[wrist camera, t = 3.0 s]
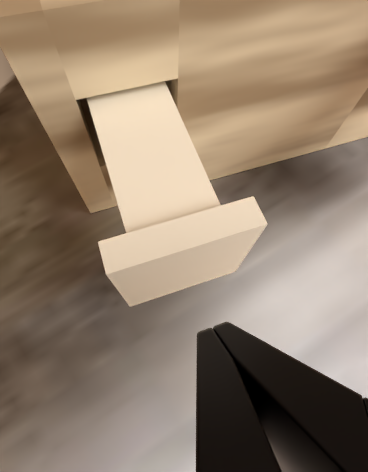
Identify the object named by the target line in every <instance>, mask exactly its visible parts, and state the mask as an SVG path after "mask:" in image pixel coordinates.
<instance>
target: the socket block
mask: <svg viewBox="0 0 368 472" xmlns="http://www.w3.org/2000/svg"><path fill="white" fill-rule="evenodd" d="M0 48H1V50H2V51H3V53H4V55H5V57H6V59H7V61H8V62H9V64H10V66H11V68H12V70H13V72H14V74H15V75H16V77H17V79H18V81H19V83H20V85H21V86H22V88H23V90H24V92H25V94H26V96H27V97H28V99H29V101H30V103H31V105H32V107H33V108H34V110H35V112H36V114H37V116H38V118H39V120H40V121H41V123H42V125H43V127H44V129H45V131H46V132H47V134H48V136H49V138H50V140H51V142H52V143H53V145H54V147H55V149H56V151H57V153H58V154H59V156H60V158H61V160H62V162H63V164H64V165H65V167H66V169H67V171H68V173H69V175H70V177H71V178H72V180H73V182H74V184H75V186H76V188H77V189H78V191H79V193H80V195H81V197H82V199H83V200H84V202H85V204H86V206H87V208H88V210H89V211H90V213H93V212H97V211H101V210H104V209H108V208H111V207H115V206H118V203H117V200H116V196H115V193H114V190H113V186H112V183H111V179H110V176H109V173H108V169H107V166H106V162H105V159H104V156H103V152H102V149H101V145H100V142H99V139H98V135H97V132H96V128H95V125H94V122H93V118H92V115H91V112H90V108H89V105H88V101H87V97H92V96H97V95H101V94H106V93H111V92H116V91H120V90H125V89H130V88H135V87H139V86H144V85H149V84H153V83H158V82H163V81H165V83H166V85H167V87H168V89H169V92H170V94H171V96H172V98H173V100H174V103H175V105H176V107H177V109H178V112H179V114H180V116H181V118H182V121H183V123H184V125H185V127H186V129H187V132H188V134H189V136H190V138H191V141H192V143H193V145H194V147H195V149H196V152H197V154H198V156H199V158H200V161H201V163H202V165H203V167H204V170H205V172H206V174H207V176H208V178H209V180H213V179H217V178H220V177H224V176H227V175H231V174H235V173H238V172H242V171H246V170H249V169H253V168H256V167H260V166H264V165H267V164H271V163H275V162H278V161H282V160H285V159H289V158H293V157H296V156H300V155H304V154H307V153H311V152H315V151H318V150H322V149H325V148H329V147H333V146H336V145H340V144H344V143H347V142H351V141H354V140H358V139H362V138H365V137H368V0H0Z"/></svg>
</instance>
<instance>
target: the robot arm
mask: <svg viewBox="0 0 368 472" xmlns="http://www.w3.org/2000/svg"><path fill="white" fill-rule="evenodd" d="M196 472H368V399H367V398H362V396H361V395H360V394H358V393H356V392H354V391H353V390H351V389H349V388H347V387H345V386H344V385H342V384H340V383H338V382H336V381H335V380H333V379H331V378H329V377H327V376H325V375H324V374H322V373H320V372H318V371H316V370H315V369H313V368H311V367H309V366H307V365H305V364H304V363H302V362H300V361H298V360H296V359H295V358H293V357H291V356H289V355H287V354H286V353H284V352H282V351H280V350H278V349H276V348H275V347H273V346H271V345H269V344H267V343H266V342H264V341H262V340H260V339H258V338H256V337H255V336H253V335H251V334H249V333H247V332H246V331H244V330H242V329H240V328H238V327H237V326H235V325H233V324H231V323H229V322H224V323H222V324H219V325H216V326H214V328H213V329H212V328H208V329H206V330H203V331H200V332H198V333H197V392H196Z"/></svg>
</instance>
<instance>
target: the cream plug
mask: <svg viewBox="0 0 368 472" xmlns="http://www.w3.org/2000/svg"><path fill="white" fill-rule="evenodd" d="M87 101H88V105H89V108H90V112H91V115H92V118H93V122H94V125H95V128H96V132H97V135H98V139H99V142H100V145H101V149H102V152H103V156H104V159H105V162H106V166H107V169H108V173H109V176H110V179H111V183H112V186H113V190H114V193H115V196H116V200H117V203H118V207H119V210H120V213H121V217H122V220H123V224H124V227H125V230H126V234H122V235H119V236H115V237H112V238H109V239H105V240H102V241H98V244H99V248H100V252H101V256H102V260H103V264H104V268H105V272H106V275H107V276H108V278H109V279H110V281H111V282H112V283H113V285H114V286H115V287H116V289H117V290H118V291H119V293H120V294H121V295H122V297H123V298H124V299H125V301H126V302H127V303H128V305H129V306H130V307H131V306H134V305H137V304H140V303H143V302H146V301H149V300H152V299H155V298H158V297H161V296H164V295H167V294H170V293H173V292H176V291H179V290H182V289H185V288H188V287H191V286H194V285H197V284H200V283H203V282H206V281H209V280H212V279H215V278H218V277H221V276H224V275H227V274H230V273H233V272H236V270H237V269H238V267H239V266H240V264H241V263H242V261H243V260H244V258H245V257H246V255H247V254H248V252H249V251H250V249H251V248H252V246H253V245H254V243H255V242H256V241H257V239H258V238H259V236H260V235H261V233H262V232H263V230H264V229H265V227H266V226H267V222H266V220H265V218H264V216H263V214H262V212H261V210H260V208H259V206H258V204H257V202H256V200H255V198H254V196H252V197H249V198H245V199H242V200H238V201H235V202H232V203H228V204H225V205H220V203H219V201H218V199H217V196H216V194H215V192H214V190H213V187H212V185H211V183H210V181H209V178H208V176H207V174H206V172H205V170H204V167H203V165H202V163H201V161H200V158H199V156H198V154H197V152H196V149H195V147H194V145H193V143H192V141H191V138H190V136H189V134H188V132H187V129H186V127H185V125H184V123H183V121H182V118H181V116H180V114H179V112H178V109H177V107H176V105H175V103H174V100H173V98H172V96H171V94H170V92H169V89H168V87H167V85H166V83H165V81H163V82H158V83H153V84H149V85H144V86H139V87H135V88H130V89H125V90H120V91H116V92H111V93H106V94H101V95H97V96H92V97H87Z"/></svg>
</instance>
